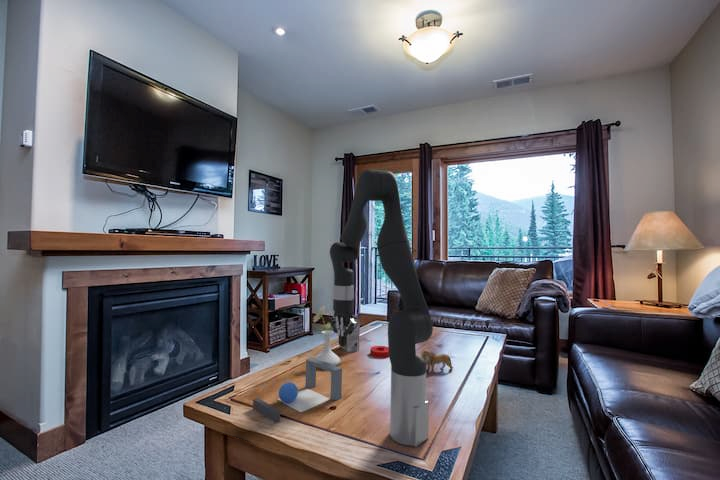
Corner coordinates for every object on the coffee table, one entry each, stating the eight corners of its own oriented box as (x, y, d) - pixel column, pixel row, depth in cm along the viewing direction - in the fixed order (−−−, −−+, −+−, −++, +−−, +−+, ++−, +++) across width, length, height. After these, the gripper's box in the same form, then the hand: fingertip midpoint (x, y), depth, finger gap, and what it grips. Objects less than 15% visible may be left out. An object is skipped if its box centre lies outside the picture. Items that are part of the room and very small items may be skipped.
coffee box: (340, 347, 168) (340, 314, 168) (352, 345, 170) (352, 313, 171) (347, 352, 159) (348, 318, 160) (359, 350, 162) (360, 317, 162)
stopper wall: (279, 421, 95) (280, 410, 95) (275, 423, 94) (275, 412, 94) (257, 407, 103) (257, 397, 103) (252, 408, 102) (253, 398, 102)
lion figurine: (425, 375, 132) (425, 352, 133) (418, 370, 137) (418, 348, 138) (456, 371, 137) (457, 349, 138) (449, 367, 142) (449, 345, 143)
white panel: (330, 399, 109) (330, 399, 109) (300, 412, 101) (300, 411, 101) (307, 388, 118) (307, 388, 118) (277, 399, 109) (277, 399, 109)
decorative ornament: (368, 352, 161) (368, 345, 161) (387, 351, 163) (387, 345, 163) (372, 359, 151) (372, 352, 151) (393, 358, 153) (393, 351, 153)
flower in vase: (326, 358, 150) (327, 302, 150) (345, 364, 142) (347, 305, 143) (304, 366, 140) (305, 305, 140) (323, 373, 132) (325, 309, 133)
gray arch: (312, 384, 121) (312, 357, 121) (341, 397, 111) (342, 368, 111) (305, 387, 119) (306, 359, 119) (334, 400, 109) (335, 370, 109)
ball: (301, 381, 108) (284, 386, 104) (301, 401, 107) (284, 407, 103) (291, 378, 112) (274, 383, 108) (292, 397, 111) (275, 403, 107)
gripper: (323, 296, 124) (322, 344, 124) (349, 300, 115) (348, 352, 115) (338, 294, 130) (337, 340, 129) (364, 298, 121) (363, 347, 120)
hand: (342, 345), depth 122 cm, fingers closed
